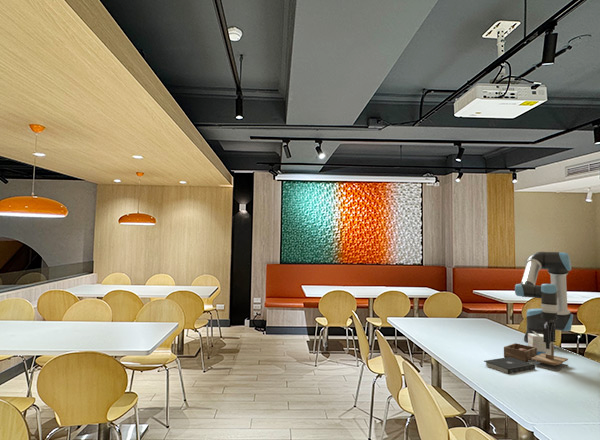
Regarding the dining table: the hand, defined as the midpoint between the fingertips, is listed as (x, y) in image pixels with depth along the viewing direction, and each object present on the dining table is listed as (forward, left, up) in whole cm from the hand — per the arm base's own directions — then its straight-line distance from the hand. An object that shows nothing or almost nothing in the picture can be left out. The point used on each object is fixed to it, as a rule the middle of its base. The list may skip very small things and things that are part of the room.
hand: (549, 354), depth 213 cm
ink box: (-20, -13, -6) cm, 25 cm away
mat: (0, 0, -6) cm, 6 cm away
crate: (-2, -16, -6) cm, 17 cm away
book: (+24, -12, -7) cm, 28 cm away
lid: (0, 0, -4) cm, 4 cm away
